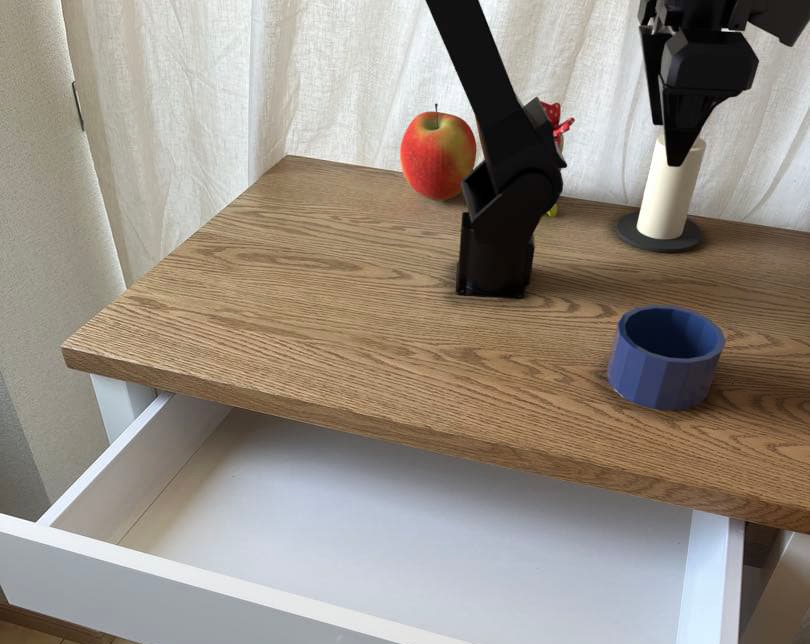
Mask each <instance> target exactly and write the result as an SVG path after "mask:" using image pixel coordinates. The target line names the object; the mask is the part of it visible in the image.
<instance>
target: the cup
mask: <svg viewBox="0 0 810 644" xmlns="http://www.w3.org/2000/svg"><path fill="white" fill-rule="evenodd" d="M726 340H727V339H726V338H725V334H724V331H723V330H722V328H721V327H720V326H718V325H717V324H716V323H715V322H714V321H713V320H712V319H711V318H709V317H707V316H705V315H703V314H701V313H699V312H697V311H695V310H693V309H688V308H684V307H681V306H677V305H668V304H667V305H665V304H651V305H643V306H637V307H634V308H633V309H631V310H629V311H626V312H624V314H622V316H621V317H620V319H619V321H618V323H617V325H616V330H615V333H614V337H613V342H612V346H611V350H610V355H609V359H608V363H607V367H606V377H607V381H608V383H609V385H610V386H611V388H612V389H613V390H614V391H615V392H616V393H617V394H618V395H620V396H621V397H622V398H624V399H625V400H627V401H629V402H631V403H633V404H636V405H639V406H641V407H644V408H649V409H653V410H659V411H679V410H685V409H690V408H692V407H695V406H696V405H699V404H701V402H703V401H704V400H705V399H706V398H707V396H708V393H709V391H710V388H711V385H712V383H713V380H714V377H715V374H716V371H717V369H718V365H719V363H720V360H721V357H722V354H723V351H724V349H725V345H726V343H727V341H726Z"/></svg>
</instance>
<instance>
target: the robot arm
mask: <svg viewBox="0 0 810 644" xmlns="http://www.w3.org/2000/svg"><path fill="white" fill-rule="evenodd" d="M425 3H426V5H427V8H428V10H429V12H430V15H431V17H432V19H433V21H434V23H435V26H436V28H437V31H438V33H439V35H440V38H441V40H442V43H443V45H444V47H445V49H446V51H447V54H448V56H449V59H450V61H451V63H452V65H453V67H454V68H453V69H454V71H455V73H456V75H457V77H458V80H459V82H460V84H461V86H462V88H463V91H464V94H465V95H466V98H467V100H468V103H469V105H470V107H471V110H472V112H473V114H474V118H475V119H474V120H475V124H476V128H477V133H478V138H479V143H480V147H481V150H482V153H483V159H482V161H481V162H480V163H479V164H478V165H476V166H475V167H474V168H473V170H472V171H471V172H470V173H469V174H468V175H467V176H466V177H465V178H464V179H463V180H462V181H461V187H462V190H461V192H462V194H463V198H464V201H465V206H466V209H467V211H463V212H462V213H461V224H460V225H461V226H460V238H459V239H460V241H459V250H458V251H459V252H458V260H457V262H456V275H455V277H456V278H455V291H454V293H455V295H456V296H460V297H475V298H476V297H478V298H491V299H492V298H494V299H511V300H512V299H513V300H523V299H524V298H525V294H526V293H525V288H527V287H529V286H530V283H531V278H532V269H533V263H534V255H535V250H536V246H535V243H536V242H535V235H534V232H535V231H536V229H537V227H538V225H539V224H540V221H541V219H542V217H543V216H544V215H546V214H547V212H548V211H550V210H551V208H552V207H553V206H554V205H555V204H556V205H557V203H558V200H559V199H560V196H561V194H562V193H563V191H564V179H563V175H562V171H561V172H560V170H559V168H562V169H566V168H567V167H568V163H567V161H566V159H565V157H564V155H563V152H562V153H561V151H560V149H559V147H558V145H557V143H556V141H555V139H554V135H553V130H552V125H551V122H550V120H549V118H548V116H547V114H546V112H545V110H544V108H543V106H542V104H541V102H540V101H541V100H540V98H539V96H535V97H534V98H533V99H531V100H530V101H529V102H527V103H526V104H525V105H524V104H523V102H522V101H521V98H519V96H518V95H517V93H516V92H515V90H514V87H513V85H512V82H511V79H510V77H509V74H508V72H507V70H506V67H505V64H504V61H503V60H502V56H501V54H500V52H499V49H498V46H497V44H496V41H495V38H494V36H493V33H492V31H491V28H490V26H489V23H488V21H487V18H486V16H485V13H484V10H483V7H482V5H481V3H480V0H425ZM637 9H638V10H637V15H636V18H637V20H638V22H639V25H638V34H639V40H640V47H641V53H642V60H643V67H644V75H645V80H646V87H647V95H648V101H649V108H650V115H651V122H652V125H654V126H662V127H663V134H664V139H665V149H666V158H667V164H668V166H670V167H680V166H681V165H682V164H683V162H684V160H685V158H686V156H687V155H688V153H689V151H690V149H691V147H692V146H693V144H694V142H695V140H696V138H697V137H698V135H699V133H700V131H701V130H702V131H703V128H704V127H705V125H706V123H707V121H708V120H709V118H710V117H711V115H712V113H713V111H714V110H715V108H716V107H717V106H719V105H720V104H722V103H724V102H726V101H727V100H728V99H731V98H736V97H738V96H739V95H741V94H742V93H743V92H745V91H749V90H751V89H752V87H753V84H754V80H755V77H756V74H757V70H758V67H759V64H760V59H759V57H758V55H757V54H756V52H755V50H754V49H753V47H752V46H751V44H750V43H749V41H748V40H747V38H746V37H745V35H744V34H743V32H745V31H746V27H747V24H748V23H749V24H751V25H753V26H754V27H755V28H756V27H757V28H758V29H760V30H762V31H764V32H766V33H768V34H770V35H772V36H774V37H776V38H778V42H779V43H781V44H782V45H784V46H786V47H788V48H793V47H794V46H795V44H796V42H797V41H798V39H799V38H800V36H801V35H802V33H803V31H804V30H805V29H806V27H807V25H808V24H809V23H810V0H639V3H638V8H637ZM723 29H726V30H728V31H725V30H723Z"/></svg>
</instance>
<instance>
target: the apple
mask: <svg viewBox="0 0 810 644" xmlns="http://www.w3.org/2000/svg"><path fill="white" fill-rule="evenodd" d="M438 106H439V104H438V103H436V102H435V103H434V109H435V111H434V110H433V111H425V112H422V113H420V114H418V115H416V116H415V117H414V118H413V119H412V120H411V121H410V123H409V124H408V126H407V128H406V130H405V132H404V134H403V137H402V140H401V142H400V150H399V162H400V167H401V171H402V173H403V176H404V179H405V180H406V181H407V182H406V183H408V185H409V186H410V187H411V189H413V191H415V192H416V193H418V194H419V195H421V196H423V197H425V198H427V199H430V200H435V201H448V200H451V199H453V198H454V197H456V196H457V195H458V194H459V193H461V192H462V187H461V181H462V180H463V179H464V178H465V177H466V176H467V175H468V174H469V173H470V172H471V171H472V170H474V169H475V164H476V159H477V150H478V149H477V141H476V137H475V133H474V132H473V130H472V128H471V127H470V125H469V124H468V122H467V121H465V120H464V119H463V118H462V117H459V116H457V115H454V114H452V113H451V114H450V113H446V112H440V111H438Z"/></svg>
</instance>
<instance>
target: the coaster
mask: <svg viewBox="0 0 810 644" xmlns="http://www.w3.org/2000/svg"><path fill="white" fill-rule="evenodd" d="M639 214H640V210H637V211H632V212H629V213H626V214H624V215H622V216H621V217H619V218H618V219H617V221H616V225H615V231H616V234H617V235H618V236H619V238H620V239H621V240H622V241H624V242H626V243H627V244H629V245H631V246H633V247H636V248H638V249H641V250H645V251H648V252H649V251H650V252H656V253H664V254H666V253H667V254H674V253H683V252H687V251H690V250H692V249H695V248H696V247H697V246H699V245H700V243H701V242H702V238H703V232H702V229H701V228H700V227H699V226H698V225H697V224H696V223H695V222H693V221H691V220H690V219H689V218H686V221H685V225H684V229H683V232H682V234H681V235H680V236H679V237H677V238H674V239H666V240H665V239H655V238H651V237H648V236H646V235H644V234H642V233H641V232H639V231H638V229H637V222H638V218H639Z"/></svg>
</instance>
